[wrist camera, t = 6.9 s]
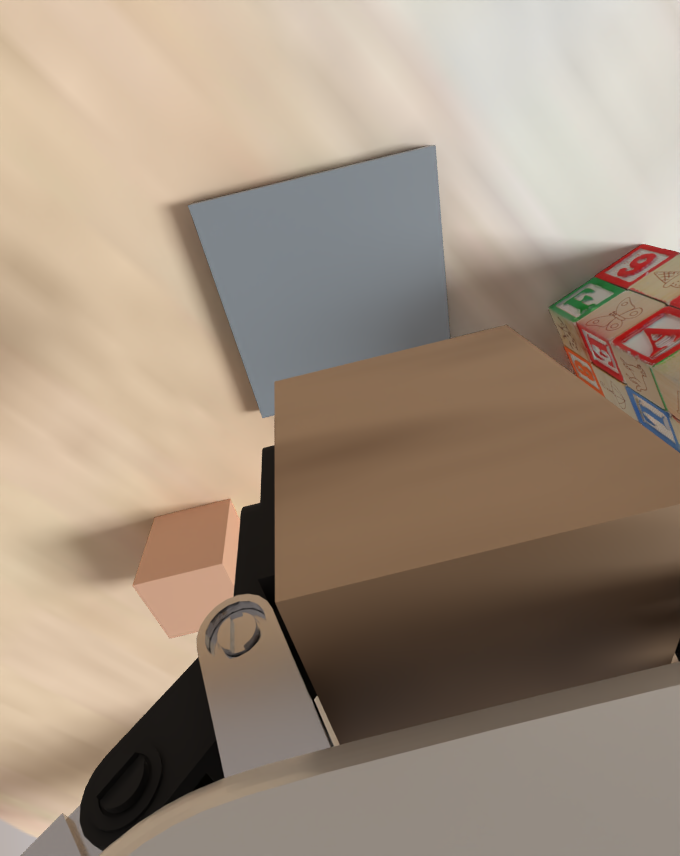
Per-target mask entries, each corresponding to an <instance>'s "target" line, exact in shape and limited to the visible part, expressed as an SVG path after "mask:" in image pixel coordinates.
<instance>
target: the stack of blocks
mask: <svg viewBox="0 0 680 856" xmlns="http://www.w3.org/2000/svg"><path fill="white" fill-rule="evenodd" d="M549 312H550V314H551V316H552V318H553V321H554V323H555V325H556V327H557V330H558V332H559V334H560V336H561V339H562V341H563V343H564V349H565V351H566V353H567V355H568V358H569V360H570V362H571V364H572V366H573V369H574V371H575V373H576V375H577V377H578V378H579V379H581V380H582V381H583V382H585V383H586V384H587V385H589V386H590V387H591V388H593V389H594V390H596V391H597V392H598V393H600V394H601V395H602V396H604V397H605V398H606V399H608V400H609V401H610V402H612V403H613V404H614V405H616V406H617V407H618V408H620V409H621V410H623V411H624V412H625V413H627V414H628V415H629V416H631V417H632V418H633V419H635V420H636V421H637V422H639V423H640V424H641V425H643V426H644V427H645V428H647V429H648V430H650V431H651V432H652V433H654V434H655V435H656V436H658V437H659V438H660V439H662V440H663V441H664V442H666V443H667V444H668V445H670V446H671V447H672V448H674V449H675V450H677V451H678V452H679V453H680V253H679V252H676V251H672V250H667V249H662V248H658V247H654V246H650V245H646V244H642V245H640V246H638V247H637V248H635V249H634V250H632V251H631V252H630V253H628V254H626V255H625V256H624V257H622V258H621V259H619V260H618V261H616V262H615V263H613V264H612V265H610V266H609V267H607V268H606V269H604V270H603V271H601V272H600V273H598V274H597V275H596V276H595V277H594V278H592V279H591V280H589V281H588V282H586V283H585V284H583V285H582V286H580V287H579V288H577V289H576V290H574V291H573V292H571V293H570V294H568V295H567V296H565V297H564V298H562V299H561V300H559V301H558V302H556V303H555V304H553V305H552V306H550V307H549Z"/></svg>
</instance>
